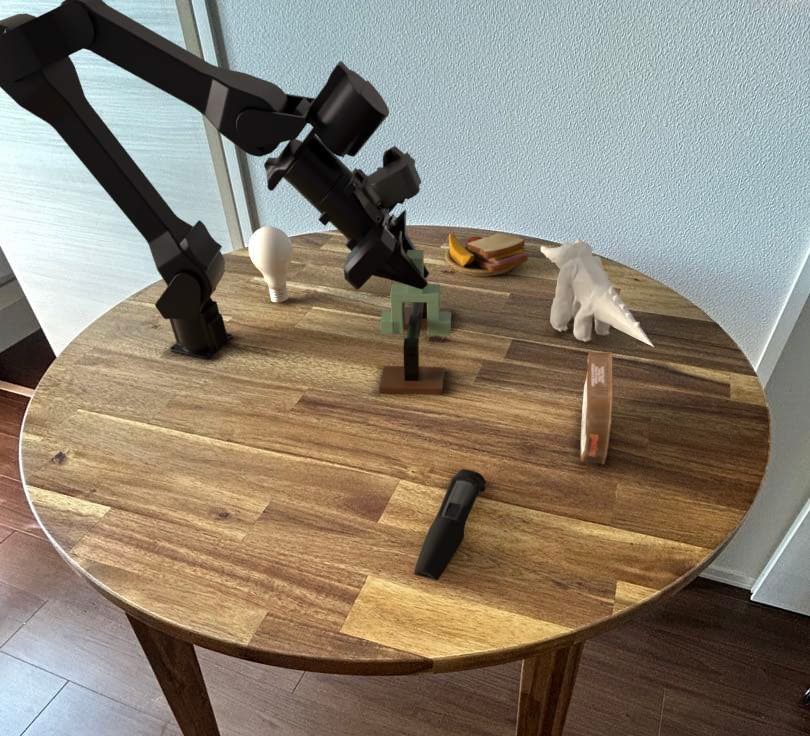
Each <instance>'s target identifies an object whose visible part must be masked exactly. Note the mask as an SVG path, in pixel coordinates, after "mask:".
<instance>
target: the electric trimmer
mask: <svg viewBox="0 0 810 736" xmlns="http://www.w3.org/2000/svg"><path fill="white" fill-rule="evenodd" d="M486 484H487V482H486V479H485V477H484V476H483V475H482V474H481V473H479V472H477V471H475V470H471V469H466V468H465V469H464V468H462V469H459V470H458V471H457V473H456V474H454V476H453V477H452V478H451V479H450V482H449V485H448V486H447V490H446V492H445V494H444V497H443V499H442V501H441V504H440V506H439V509H438V511H437V513H436V516H435V517H434V519H433V522H432V523H431V524H430V527H429V529H428V531H427V533H426V536H425V538H424V541H423V544H422V547H421V548H420V553H419V555H418V558H417V560H416V564H415V566H414V570H413V574H414V575H415V576H417V577H422V578H425V579H429V580H433V581H438V580H439V579H440V578H441V577H442V575H443V574H444V572H445V571H446V569H447V568H448V566H449V564H450V562H451V561H452V559H453V558H454V556H455V554H456V553H457V552H458V550H459V548H460V546H461V545H462V543H463V541H464V539H465V529H466V524H467V520H468V518H469V516H470V514H471V511H472V510H473V507H474V504H475V503H476V500H477V498H478V496H479V494H480V493H484V492H485V491H486V490H487V487H486Z"/></svg>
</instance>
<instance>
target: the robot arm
mask: <svg viewBox="0 0 810 736" xmlns="http://www.w3.org/2000/svg"><path fill="white" fill-rule="evenodd" d="M81 50H87V51H89V52H92V53H93V54H95V55H97V56H99V57H100V58H102V59H104V60H106V61H107V62H110V63H111V64H114V66H117V67H119V68H121V69H122V70H123V71H126V72H128V73H130V74H132V75H134V76H135V77H137V78H139V79H140V80H142V81H144V82H146V83H148V84H150V85H152V86H153V87H155V88H157V89H159V90H160V91H162V92H164V93H166V94H168V95H170V96H171V97H173V98H175V99H177V100H179V101H181V102H183V103H184V104H186V105H188V106H190V107H192V108H194V109H195V110H196V111H198V112H199V113H200V114H201V115H203V117H205V118H206V119H207V121H209V123H210V124H211V125H212V126H213V127H214V128H215V130H216V131H218V133H219V134H221V135H222V136H223V137H224V138H226V139H227V140H228V141H230V142H231V143H232V144H234V145H235V146H236V147H238V149H240V150H241V151H243V152H244V153H246V154H247V155H250V156H253V157H258V158H261V157H264V156H268V155H269V154H272V153H274V151H275V150H276V149H277V148H278V147H279V146H280V145H281V144H282V143H285V142H288V143H286V145H285V146H284V148H283V149H282V151H280V154H279V155H278V156H277V157H268V158H267V159H266V160H265V162H264V163H263V168H264V169H265V173H266V174H265V175H266V182H267V183H266V184H267V186H266V187H267V189H268V191H270V192H271V191H275V189H276V188H277V186H278V185H279V183H280V182H281V181H282V180H283V179H284V180H285V181H286V182H287V183H288V184H289V185H290V186H292V187H293V188H294V190H295V191H296V192H297V193H299V194H300V195H301V196H302V197H303V198H304V199H305V200H306V201H307V202H308V203H309V205H311V206H312V207H314V209H316V210H317V212H319V213H320V216H319V218H318V221H319V222H320V223H321V224H322V225H323V226H324V227H326V226H327V225H328V224H329V223H330V224H331V225H333V227H334V228H335V229H336V230H338V232H340V234H342V235H343V236H344V237H345V238H346V242H345V247H346V248H347V249H348V250H349V251H350V252H349V253H348V254H347V255H346V259H345V263H344V265H343V276H344V280H345V281H346V282H347V283H348V284H350V285H351V286H352V287H353V288H354V289H355V290H356V291H358V290H360V289H361V288H362V287H363V286H364V285H365V284H366V283H367V282H368V281H369V280H370V279H371V278H372V276H373V277H377V278H381V279H386V280H389V281H393V282H396V283H398V284H406V285H409V286H412V287H415V288H418V289H424V288H425V287H426V286H427V284H429V283H428V280H427V281H426V279H427V277H429V275H430V272H429V270H428V268H427V266H426V264H424V276H423V275H422V273H421V272H420V271H419V269H418V268H417V267H416V266H415V264H414V263H413V262H412V260H411V259H410V258H409V256H408V255H407V251H408V250H417V249H416V247H415V245H414V244H413V242H412V240H411V238H410V237H409V235H408V233H407V210H406V209H404V210H403V211H402V212H400V214H398V216H396V215H395V213H391V212H392V211H393V210H394V209H395V207H396V206H397V205H398V204H400V205H403V204H404V203H405V201H406V200H411V199H412V198H414V197H416V196H417V195H418V194H419V193H420V191H421V189H420V185H421V184H422V179H421V177H420V175H419V172H418V170H417V168H416V159H414V157H412V156H411V154H409V152H405V153H404V152H403V151H402V150H400V149H399V148H398V147H397V146H396V145H394V146H392V147H390V148H388V149H387V150H386V149H385V151H383V155H382V167H381V166H379V167H377V169H376V170H375V171H373V172H372V173H371V174H368V175H367V174H366V173H365V172H364V171H363V170H362V169H361V168H358V169H357V167H355V168H354V169H353V170H352V171H351V170H350V168H349V167H348V166H347V165H346V164H345V163H344V161H342V160H341V159H340V157H341V158H345V156H346V155H347V156H349V157H352V158H353V157H356V156H357V155H358V153H360V151H361V150H362V148H363V147H364V146H365V145H366V144H367V142H368V141H369V140H370V138H371V137H372V136H373V135H374V134H375V132H376V131H377V130H378V129H379V128H380V126H381V125H382V124H383V123H384V121H386V119H387V118H388V116H390V110H389V107H388V105H387V103H386V101H385V100H384V98H383V97H382V95H381V94H380V92H379V91H378V89H376V87H375V86H374V85H373V84H372V83H371V82H370V81H369V80H368V79H367V80H366V79H364V78H363V77H362V76H361V75H360V74H359V73H357V72H356V71H354V70H353V69H350V68H349V67H348V66H347V65H346V64H345V63H344V62H343V61H342V60H339V61H338V62H337V63H336V65H335V67H334V68H333V70H332V71H331V72H330V74H329V76H328V78H327V80H326V83H325V85H324V86H323V87H322V89H320V91H319V92H318V94H317V95H316V97H309V96H303V95H297V94H290V93H285V92H284V90H283V89H282V88H281V87H279V86H278V85H277V84H276V83H273V82H272V81H269V80H265V79H263V78H260V77H257V76H254V75H252V74H250V73H246V72H241V71H238V70H237V71H236V70H232V69H227V68H223V67H220V66H217V65H214V64H212V63H210V62H208V61H207V60H204V59H202V58H201V57H199V56H197V55H196V54H194V53H192V52H191V51H189V50H187V49H185V48H183V47H182V46H180V45H178V44H176V43H175V42H173V41H171V40H169V39H168V38H166V37H164V36H162V35H161V34H159V33H157V32H155V31H154V30H152V29H150V28H148V27H146V26H145V25H144V24H142V23H140V22H138V21H136V20H134V19H133V18H131V17H129V16H127V15H126V14H124V13H123V12H120V11H119V10H117V9H115V8H114V7H112V6H110V5H108V4H107V3H106V2H105V1H104V0H62V1H61V2H60V5H59V6H57V7H54V8H52V9H51V10H49V11H47V12H45V13H42V14H39V15H38V16H35V15H32V14H29V13H17V14H14V15H11V16H8V17H6V18H3V19H0V89H1V90H2V91H4V93H5V94H7V95H8V96H9V97H10V98H11V99H12V100H13V101H14V102H15V103H16V104H17V105H18V106H19V107H21V108H22V109H23V110H25V111H27V112H29V113H30V114H32V115H34V116H35V117H37V118H39V119H40V120H42V121H43V122H45V123H47V124H48V125H49V126H50V127H52V128H53V129H54V131H56V133H57V134H58V135H59V137H61V139H62V141H64V142H65V144H66V145H67V146H68V148H69V149H70V150H71V151H72V152H73V153H74V155H75V156H76V157H77V158H78V159H79V160H80V162H81V164H82V165H83V166H84V167H85V168H86V169H87V170H88V171H89V173H90V174H91V175H92V176H93V178H94V179H95V180H96V181H97V183H98V184H99V185H100V186H101V188H102V189H103V190H104V191H105V192H106V193H107V195H108V196H109V197H110V198H111V200H112V201H113V202H114V203H115V205H116V206H117V207H118V208H119V209H120V211H121V212H122V213H123V214H124V216H125V217H126V218H127V219H128V221H130V223H131V224H132V225H133V226H134V227H135V228H136V229H137V231H138V233H140V234H141V236H142V237H143V238H144V240H145V241H146V242H147V245H148V248H149V250H150V253H151V257H152V259H153V262H154V265H155V268H156V270H157V272H158V274H159V275H160V277H161V278H162V280H163V282H164V283H165V285H166V288H165V289H164V291H163V292H162V294H161V295H160V296H159V297H158V299H157V301H156V302H155V303H154V306H155V308H156V310H157V311H158V312H159V314H160V315H161V316H162V318H163V319H164V320H169V323H170V326H171V330H172V332H173V335H174V338H175V341H176V343H174V344H173V345H171V347H169V350H170V352H171V353H173V354H177V355H181V356H187V357H192V358H197V359H200V360H201V359H202V360H206V361H207V360H210V359H212V358H213V357H214V356H216V354H217V353H219V352H220V351H221V350H222V349H223V348H224V347H225V346H227V345H228V344H229V343H230V342H231V341H232V340H233V339H234V335H233V334H232V333H229V332H227V330H226V326H225V322H224V317H223V315H222V313H220V311H219V306H218V302H217V301H216V300H213V299H212V295H213V293H214V292H215V291H216V290H217V287H218V285H219V284H220V282H221V280H222V279H223V276H224V274H225V271H226V270H225V269H226V265H225V264H226V260H225V257H224V255H223V254H222V252H221V250H222V249H223V246H222V245H221V244H220V243H219V242H218V241H216V240H215V239H214V238H213V237H212V235H211V233H210V232H209V230H208V228H207V227H206V225H205V224H204V222H203V221H202V220H201V219H200V220H197V221H196V223H194V225H191V224H190V223H188V222H187V221H185V220H183V219H181V218H180V217H178V216H177V215H176V213H175V212H174V211H173V209H172V208H171V207H170V205H169V204H168V203H167V202H166V200H165V199H164V198H163V197H162V195H161V194H160V193H159V191H158V190H157V189H156V188H155V186H154V185H153V184H152V182H151V181H150V180H149V178H148V177H147V176H146V175H145V173H144V172H143V171H142V169H141V168H140V167H139V166H138V164H137V163H136V161H135V160H134V159H133V158H132V156H131V155H130V154H129V152H128V151H127V150H126V149H125V147H124V146H123V145H122V144H121V142H120V141H119V139H118V138H117V137H116V136H115V135H114V133H113V132H112V131H111V129H110V128H109V126H108V125H107V124H106V123H105V122H104V120H103V119H102V117H100V115H99V114H98V112H97V111H96V110H95V109H94V108H93V106H92V105H91V103H90V102H89V100H88V99H87V97H86V95H85V92H84V89H83V87H82V83H81V81H80V77H79V75H78V72H77V68H76V66H75V64H74V62H73V61H72V59H71V57H70V56H71V55H74V54H75V53H77V52H79V51H81ZM307 125H310V126H311V129H310V131H309V132H308V133H307V135H306V136H305V137H304V138H303V140H299V139H297V138H298V137H299V136H300V135H301V133H302V131H303V130H304V129H305V127H306V126H307ZM390 213H391V215H390Z"/></svg>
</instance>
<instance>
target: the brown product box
mask: <svg viewBox="0 0 810 736" xmlns="http://www.w3.org/2000/svg"><path fill="white" fill-rule="evenodd" d="M613 356H614V355H613V352H612V351H609V352H603V351H602V352H600V351H598V352H597V351H595V352H594V351H593V352H589V353H588V355H587V359H586V361H587V373H586V377H585V382H584V385H583V393H582V406H581V408H582V409H581V421H580V423H581V424H580V439H579V441H580V445H579V458H580V462H582V463H587V464H588V463H589V464H601V465H605V464H606V461H607V458H608V453H609V446H610V438H611V430H612V422H613V408H614V376H613V375H614V369H613V367H614V366H613V365H614V358H613Z"/></svg>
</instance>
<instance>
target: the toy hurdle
mask: <svg viewBox="0 0 810 736" xmlns="http://www.w3.org/2000/svg"><path fill="white" fill-rule="evenodd" d="M425 279H426V281H427V282H428V279H427V278H425ZM440 312H450V308H449V307H440ZM404 330H407V332H406V337H405V338H404V339H403V344H402V347H403V348H402V349H403V366H400V365H399V366H398V365H383V366H382V370H381V375H380V380H379V386H378V392H379V393H382V394H383V393H384V394H388V393H389V394H421V395H422V394H426V395H428V394H429V395H442V394H443V388H444V387H443V386H444V375H445V367H444V366H420V336H421V335H420V334H421V330H427V302H411V306H405V326H404Z"/></svg>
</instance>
